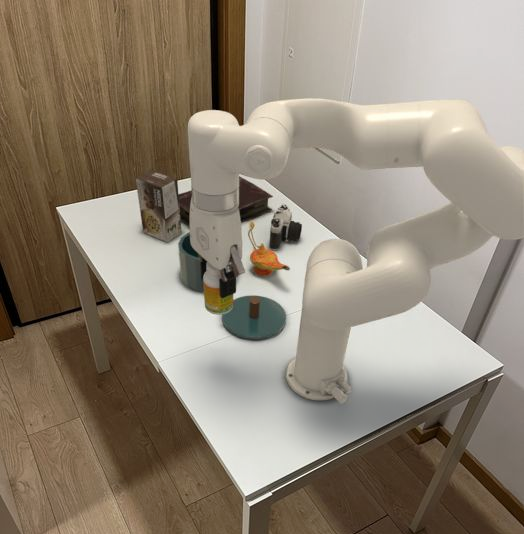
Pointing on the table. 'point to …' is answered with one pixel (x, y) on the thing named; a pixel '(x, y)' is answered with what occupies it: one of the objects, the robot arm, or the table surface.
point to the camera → (283, 228)
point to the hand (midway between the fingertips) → (218, 285)
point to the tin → (190, 265)
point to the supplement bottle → (215, 292)
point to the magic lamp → (264, 258)
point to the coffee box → (159, 205)
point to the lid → (255, 317)
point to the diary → (250, 202)
